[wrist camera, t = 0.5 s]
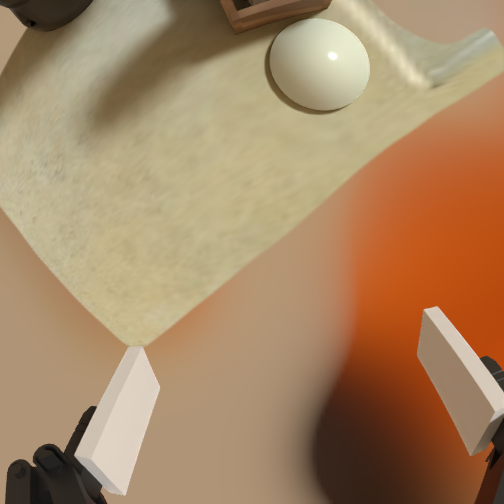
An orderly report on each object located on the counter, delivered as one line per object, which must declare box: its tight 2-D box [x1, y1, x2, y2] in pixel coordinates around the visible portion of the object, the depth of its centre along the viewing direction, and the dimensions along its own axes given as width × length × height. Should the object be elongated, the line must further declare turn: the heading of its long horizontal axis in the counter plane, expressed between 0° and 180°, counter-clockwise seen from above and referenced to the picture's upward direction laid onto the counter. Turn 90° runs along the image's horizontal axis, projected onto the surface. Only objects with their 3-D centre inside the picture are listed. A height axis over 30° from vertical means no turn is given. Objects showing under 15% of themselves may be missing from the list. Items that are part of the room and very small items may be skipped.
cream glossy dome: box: [270, 18, 370, 111], centre depth 32 cm, size 12×12×1 cm
